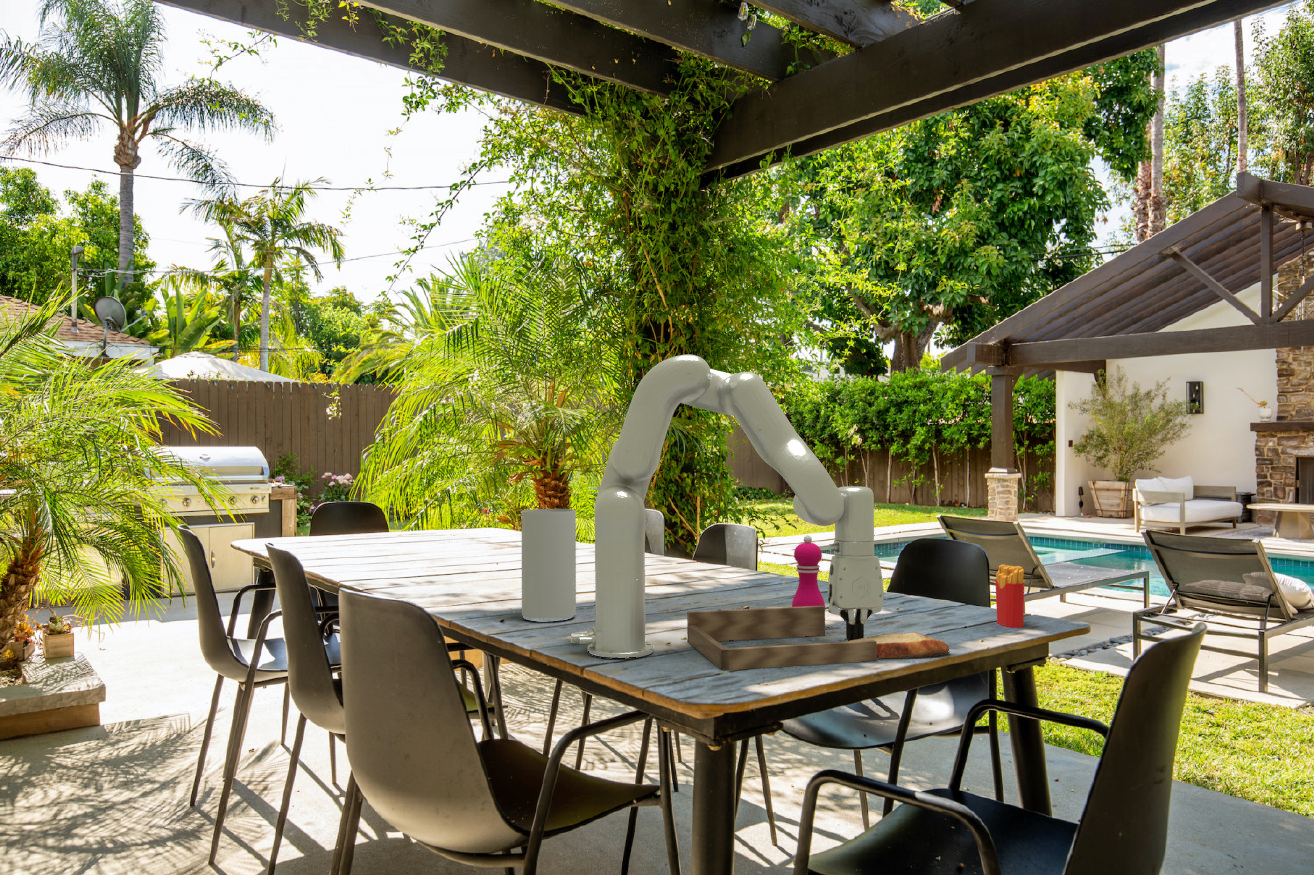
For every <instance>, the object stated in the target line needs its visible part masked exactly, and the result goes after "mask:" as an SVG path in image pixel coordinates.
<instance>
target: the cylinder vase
mask: <svg viewBox="0 0 1314 875" xmlns="http://www.w3.org/2000/svg"><path fill="white" fill-rule="evenodd" d="M576 513H577V512H576V509H571V508H540V509H539V508H535V509H524V510H521V616H522V615H523V616H525V617H529V618H540V619H541V618H543V619H544V618H565V617H570V616H573V615H576V616H577V578H576V577H577V566H576V565H577V560H576V559H577V557H576V556H577V551H576V550H577V546H576V545H577V543H576V542H577V541H576V540H577V538H576V537H577V535H576V534H577V533H576V532H577V529H576V527H577V526H576V525H577V524H576V523H577V522H576V519H577V518H576V517H577V516H576V515H577V514H576Z"/></svg>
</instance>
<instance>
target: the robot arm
mask: <svg viewBox="0 0 1314 875" xmlns="http://www.w3.org/2000/svg"><path fill="white" fill-rule="evenodd" d="M680 404H683V405H688V406H692V407H695V408H700V409H703V410H706V411H710V412H713V413H718V414H722V415H727V416H732V417H734V419H735V420H736V422H737V423H738V425H739V426H740V427H741V429H742V430H743V432H744V434H745V435H746V437H747V439H748V440H749V441H750V443H751V445H752V447H753V448H754V450H755V451H756V453H757V455H758V456H759V457H760V458H761V459H762V460H763V461H764V462H765V463H766V464H767V465H769V466H770V467H771V468H772V469H774V470H775V471H776V472H777V473H778V474H779V475H780V476H781V477H782V478H783V480H784V481H785V482H786V483H787V484H788V486H789V487H790V489H791V490H792V491H793V493H794V494H795V495H794V497H793V499H792V508H793V511H794V513H795V514H796V516H797V517H798V518H799V519H801V520H802V521H804V522H806V523H809V524H812V525H813V524H814V525H817V526H820V527H828V526H832V525H834V540H833V543H829V544H828V551H829V552H833V554H834V555H833V556H831V561H830V565H829V571H828V581H827V582H828V583H827V603H828V604H829V605H828V609H827V612H828V613H829V614H832V615H836V616H840V618H842V620H843V622H845V632H846V633H845V636H846V637H845V638H846V639H847V642H848V641H851V640H856V639H861V638H865V626H864V625H865V624H866V623H867V620H868V619H869V618H870V617H871V615H874V614H878V613H880V612H882V606H884V599H885V598H884V596H885V595H884V584H883V583H884V582H883V574H882V567H881V563H880V558H879V556H878V555H877V556H876V555H875V507H874V506H875V495H874V491H873V490H872V488H870V487H867V486H853V485H852V486H851V485H850V486H840V487H838V486H837V485H836V483H835V481H834V480H833V479H832V477H831V475H830V473H828V470H827V469H826V467H825V466H824V465H823V464H822V463H821V461H820V460H819V458H818V457H817V456H816V454H815V453H814V452H813V451H812V450H811V449H810V447H809V446H808V445H807V443H806V442H805V441H804V440H803V438H801V436H800V435H799V434H798V433H797V431H796V429H795V428H794V426H793V425H792V424H791V422H790V421H789V419H788V417H787V416H786V414H785V412H784V410H782V408H781V406H780V405H779V403H778V402H777V400H776V398H775V397H774V395H773V394H772V392H771V391H770V389H769V387H768V386H767V384H766V383H765V382H764V380H763V379H762V378H761V377H760V376H759V375H757V374H756V373H754V372H751V371H742V372H738V373H735V374H734V373H729V372H724V371H722V370H721V371H720V370H716V369H714V368H711V367H710V366H709V364H708V362H707V361H706V360H705V359H704V358H702V357H701V356H699V355H695V354H680V355H676V356H672V357H669V358H666V359H664V360H662V361H661V362H659V363H657V364H655V366H653V367H652V368H651V369H650V370H649V371H648V372H646V373H645V375H644V376H643V377H642V378H641V380H640V382H639V383H638V385H637V387H636V388H635V391H634V393H633V395H632V399H631V400H630V404H629V406H628V410H627V413H626V415H625V418H624V421H623V425H622V427H621V430H620V434H619V437H618V439H617V440H616V441H615V443H614V444H613V446H612V447H611V450H610V454H609V456H608V459H607V462H606V465H605V468H604V472H603V476H602V479H601V482H600V486H599V488H598V490H597V491H598V492H597V494H596V498H595V503H594V508H593V509H594V571H595V572H594V573H595V574H594V575H595V576H594V577H595V580H594V582H595V583H594V584H595V586H594V587H595V589H594V592H595V593H594V594H595V607H594V608H595V626H592V627H591V630H587V632H570V643H571V644H579V645H585V644H588V645H587V646H586V647H587V648H586V649H587V652H588V651H589V652H591V653H593V654H596V655H599V656H604V657H618V658H625V659H630V658H629V657H636V658H641V657H646V656H648V655H650V654H652V653H653V652H654V644H652V643H651V642H650V641H646V570H645V569H646V566H645V565H646V564H645V563H646V562H645V556H646V555H645V553H646V552H645V550H646V548H645V546H646V544H645V543H646V524H647V522H646V521H647V520H646V516H647V514H646V507H645V499H646V496H647V493H648V489H649V486H650V484H651V479H652V476H653V475H654V474H655V473H656V471H657V470H658V468H659V465H660V459H661V455H662V451H663V447H664V444H665V439H666V436H667V433H668V430H669V428H670V424H671V421H672V419H673V416H674V413H675V411H676V410H677V408H678V406H679V405H680ZM854 611H855V612H854Z"/></svg>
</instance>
